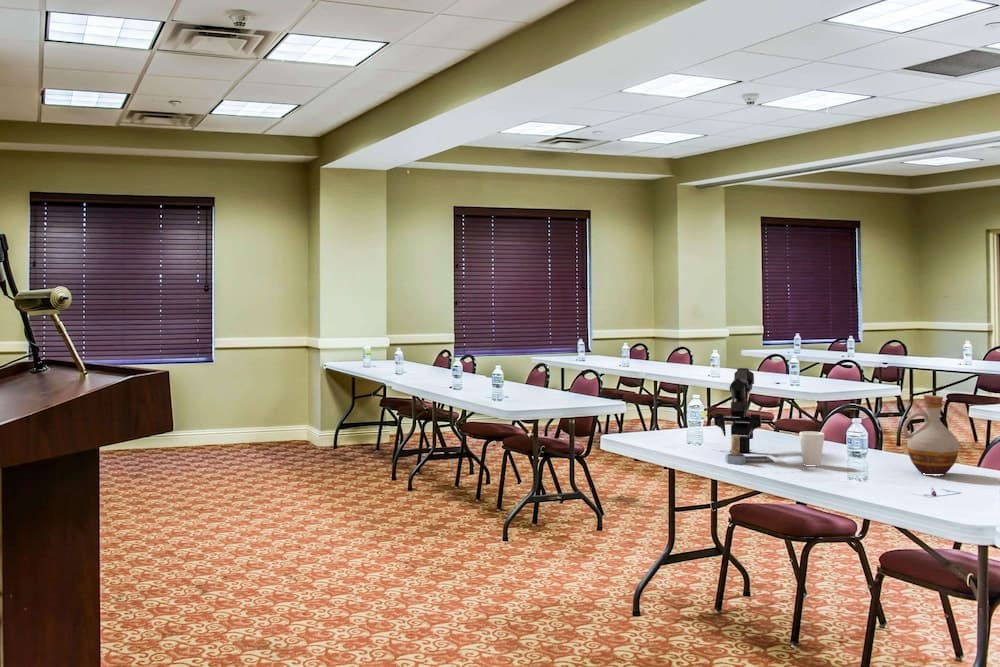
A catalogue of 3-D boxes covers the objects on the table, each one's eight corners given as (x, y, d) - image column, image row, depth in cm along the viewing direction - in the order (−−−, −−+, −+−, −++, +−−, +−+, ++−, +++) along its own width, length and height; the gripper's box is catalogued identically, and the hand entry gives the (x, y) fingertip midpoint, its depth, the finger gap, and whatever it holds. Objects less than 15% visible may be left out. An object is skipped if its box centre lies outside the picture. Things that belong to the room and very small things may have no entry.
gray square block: (741, 463, 372) (741, 453, 372) (747, 466, 365) (747, 456, 365) (723, 463, 372) (723, 453, 372) (729, 466, 365) (729, 456, 365)
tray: (740, 460, 378) (740, 456, 378) (767, 460, 378) (767, 456, 378) (746, 465, 368) (746, 460, 368) (773, 464, 368) (773, 460, 368)
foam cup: (825, 464, 369) (825, 432, 368) (822, 468, 360) (823, 435, 360) (800, 462, 373) (800, 430, 372) (797, 466, 364) (798, 434, 364)
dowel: (738, 461, 370) (738, 434, 370) (740, 463, 367) (740, 435, 367) (730, 461, 370) (730, 434, 370) (732, 463, 367) (732, 436, 366)
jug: (906, 477, 340) (907, 397, 339) (897, 468, 358) (898, 392, 356) (964, 479, 336) (965, 398, 335) (952, 470, 353) (953, 393, 352)
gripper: (714, 393, 380) (711, 423, 370) (761, 394, 374) (759, 424, 364) (716, 410, 387) (713, 439, 377) (761, 411, 381) (760, 441, 371)
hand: (736, 436), depth 372 cm, fingers open, 9 cm apart
